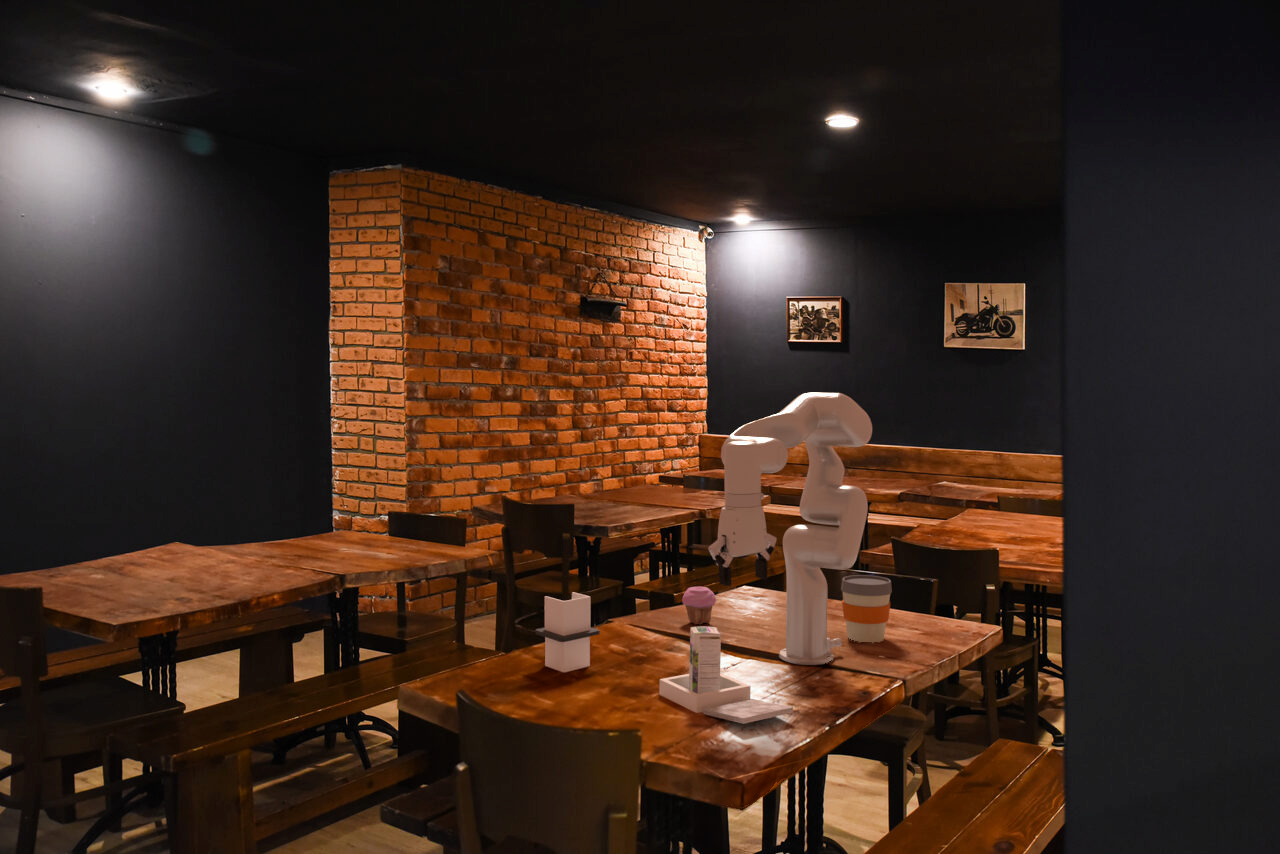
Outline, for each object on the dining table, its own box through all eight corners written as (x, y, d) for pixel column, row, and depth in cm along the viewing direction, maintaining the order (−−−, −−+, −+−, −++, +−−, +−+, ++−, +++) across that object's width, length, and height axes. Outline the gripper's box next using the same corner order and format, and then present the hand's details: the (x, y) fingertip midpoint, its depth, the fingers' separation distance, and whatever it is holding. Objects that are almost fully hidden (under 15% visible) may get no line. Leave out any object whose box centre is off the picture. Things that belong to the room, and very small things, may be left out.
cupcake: (693, 628, 269) (694, 591, 268) (676, 621, 276) (676, 584, 276) (721, 624, 273) (722, 587, 273) (703, 617, 281) (703, 581, 280)
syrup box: (688, 695, 214) (688, 626, 213) (716, 694, 214) (716, 625, 214) (692, 703, 208) (692, 633, 207) (721, 702, 209) (721, 632, 208)
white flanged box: (577, 646, 252) (577, 580, 251) (643, 668, 234) (643, 597, 233) (492, 666, 235) (491, 595, 234) (556, 690, 217) (556, 614, 216)
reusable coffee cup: (836, 641, 256) (836, 582, 255) (845, 630, 268) (846, 573, 267) (887, 647, 251) (887, 586, 251) (894, 634, 263) (895, 577, 262)
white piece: (711, 685, 220) (711, 669, 220) (750, 702, 209) (750, 685, 209) (659, 695, 213) (659, 679, 213) (696, 714, 202) (696, 696, 202)
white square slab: (703, 714, 201) (702, 708, 201) (751, 703, 207) (751, 698, 207) (743, 723, 190) (743, 718, 190) (793, 712, 196) (792, 707, 196)
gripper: (763, 494, 221) (763, 572, 222) (698, 502, 211) (699, 584, 213) (786, 498, 214) (786, 579, 216) (720, 507, 205) (721, 591, 206)
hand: (743, 581), depth 214 cm, fingers open, 9 cm apart
